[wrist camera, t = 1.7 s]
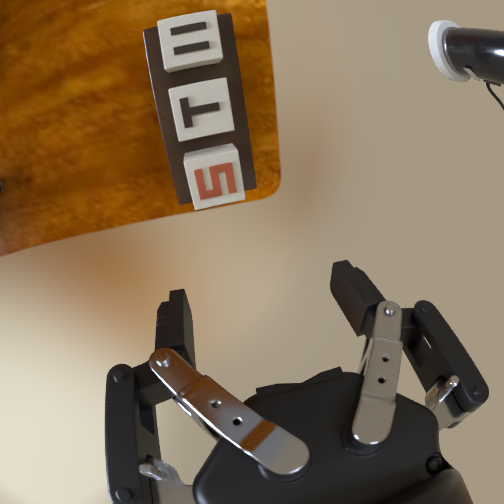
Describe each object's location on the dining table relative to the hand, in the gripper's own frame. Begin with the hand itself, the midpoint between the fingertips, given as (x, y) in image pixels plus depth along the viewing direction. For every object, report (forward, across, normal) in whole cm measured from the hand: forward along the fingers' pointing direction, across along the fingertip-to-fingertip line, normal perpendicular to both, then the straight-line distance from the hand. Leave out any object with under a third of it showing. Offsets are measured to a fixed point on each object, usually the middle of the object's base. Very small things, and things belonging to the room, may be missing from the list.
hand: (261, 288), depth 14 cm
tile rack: (+20, +2, -8) cm, 22 cm away
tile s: (+12, +1, -3) cm, 12 cm away
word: (+12, +2, -11) cm, 16 cm away
